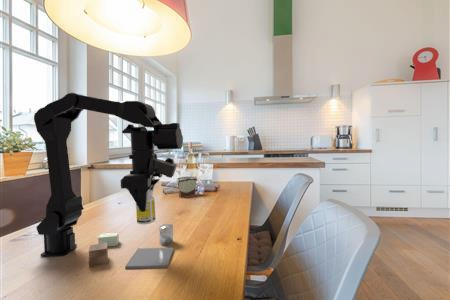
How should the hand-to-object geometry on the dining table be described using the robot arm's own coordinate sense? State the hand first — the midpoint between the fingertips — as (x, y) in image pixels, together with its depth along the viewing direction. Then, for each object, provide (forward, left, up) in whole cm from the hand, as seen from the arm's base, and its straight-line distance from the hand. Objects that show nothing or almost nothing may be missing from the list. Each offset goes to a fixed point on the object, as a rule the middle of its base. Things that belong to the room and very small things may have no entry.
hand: (145, 208), depth 68 cm
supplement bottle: (0, 0, -4) cm, 4 cm away
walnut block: (-11, -3, -13) cm, 17 cm away
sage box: (-13, +8, -13) cm, 20 cm away
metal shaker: (+4, +8, -13) cm, 15 cm away
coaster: (+2, -2, -13) cm, 13 cm away
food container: (+2, +72, -13) cm, 73 cm away
